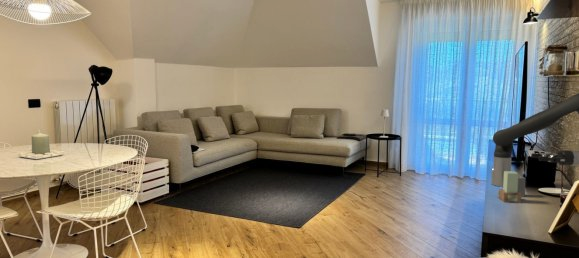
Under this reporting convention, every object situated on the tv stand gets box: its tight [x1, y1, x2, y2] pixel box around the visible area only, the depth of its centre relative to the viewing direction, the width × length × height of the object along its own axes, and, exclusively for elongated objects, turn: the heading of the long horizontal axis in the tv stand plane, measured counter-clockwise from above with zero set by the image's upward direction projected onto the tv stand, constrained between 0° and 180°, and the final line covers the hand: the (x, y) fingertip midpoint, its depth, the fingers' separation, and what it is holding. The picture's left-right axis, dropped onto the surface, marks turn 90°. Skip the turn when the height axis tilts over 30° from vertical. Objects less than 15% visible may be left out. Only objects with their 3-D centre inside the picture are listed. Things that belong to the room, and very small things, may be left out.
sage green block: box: [502, 170, 519, 193], centre depth 203 cm, size 5×5×10 cm
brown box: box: [497, 188, 522, 204], centre depth 204 cm, size 8×8×5 cm
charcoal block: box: [518, 175, 526, 198], centre depth 213 cm, size 5×5×10 cm
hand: (535, 157), depth 199 cm, fingers open, 8 cm apart
